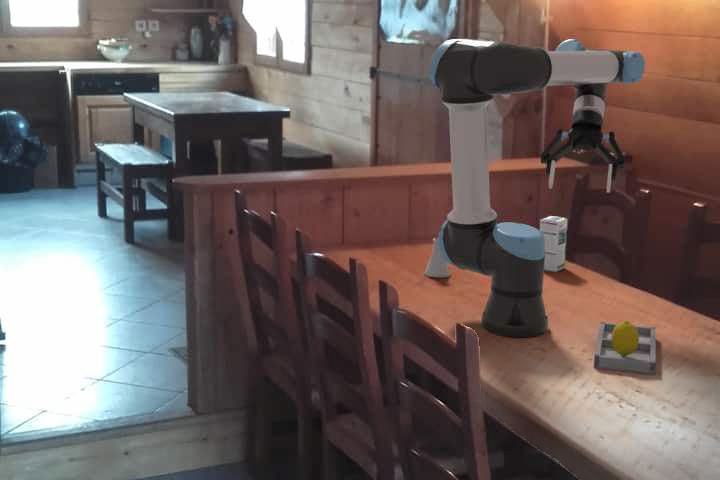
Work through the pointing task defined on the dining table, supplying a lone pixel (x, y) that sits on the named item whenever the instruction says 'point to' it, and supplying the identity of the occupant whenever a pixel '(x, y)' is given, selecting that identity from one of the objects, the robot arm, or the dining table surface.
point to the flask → (437, 263)
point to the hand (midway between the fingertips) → (579, 187)
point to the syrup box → (554, 242)
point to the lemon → (625, 338)
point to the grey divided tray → (635, 362)
